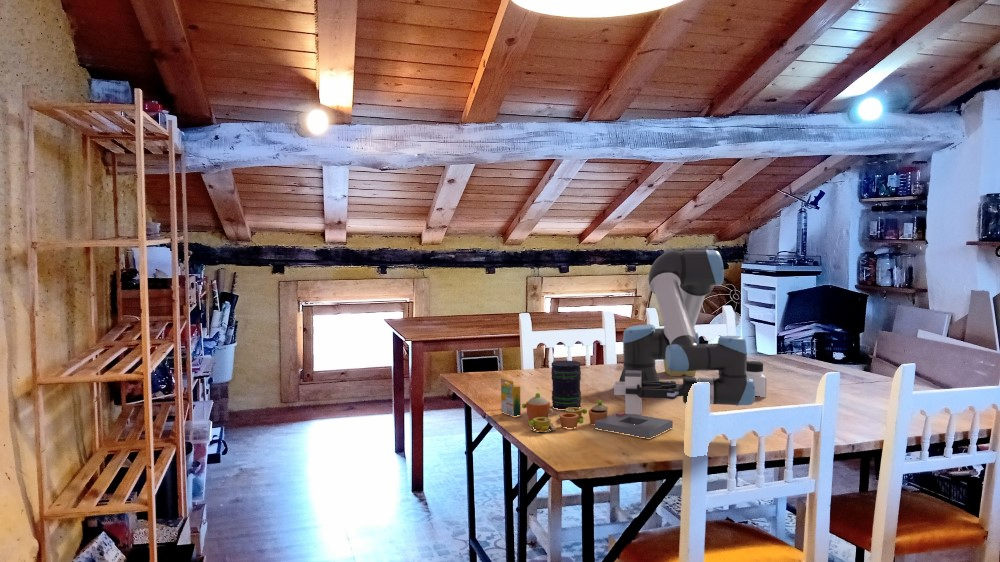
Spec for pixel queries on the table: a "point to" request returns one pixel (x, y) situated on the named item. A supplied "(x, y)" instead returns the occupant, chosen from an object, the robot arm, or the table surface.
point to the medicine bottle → (757, 377)
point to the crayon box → (510, 398)
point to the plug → (632, 402)
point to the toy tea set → (541, 409)
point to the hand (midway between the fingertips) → (615, 388)
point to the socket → (626, 424)
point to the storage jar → (566, 384)
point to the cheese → (678, 373)
